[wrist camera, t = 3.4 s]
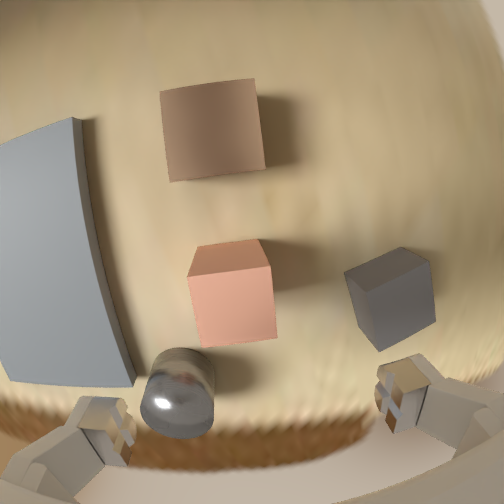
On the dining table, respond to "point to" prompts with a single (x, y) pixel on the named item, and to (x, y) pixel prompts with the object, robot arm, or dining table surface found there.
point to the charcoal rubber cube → (392, 297)
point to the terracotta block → (232, 293)
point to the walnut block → (212, 129)
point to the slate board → (54, 268)
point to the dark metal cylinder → (179, 394)
